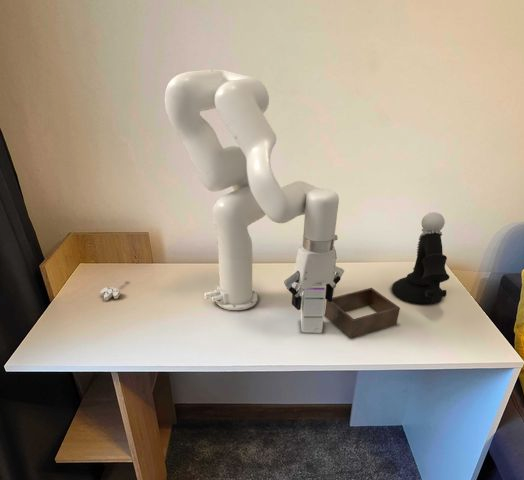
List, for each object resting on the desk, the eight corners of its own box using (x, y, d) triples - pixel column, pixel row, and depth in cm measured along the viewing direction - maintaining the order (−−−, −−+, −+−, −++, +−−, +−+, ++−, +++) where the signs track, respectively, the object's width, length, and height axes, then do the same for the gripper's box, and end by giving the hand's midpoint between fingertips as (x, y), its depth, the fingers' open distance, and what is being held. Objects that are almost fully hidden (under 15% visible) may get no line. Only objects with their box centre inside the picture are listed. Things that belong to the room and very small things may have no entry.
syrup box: (322, 333, 122) (327, 285, 114) (300, 332, 122) (304, 284, 114) (320, 321, 127) (325, 275, 118) (299, 321, 127) (303, 274, 118)
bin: (350, 338, 121) (353, 321, 117) (324, 315, 130) (326, 298, 126) (396, 324, 126) (400, 307, 123) (368, 303, 135) (371, 287, 132)
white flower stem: (98, 300, 134) (96, 293, 133) (109, 282, 144) (107, 275, 142) (117, 301, 134) (115, 293, 133) (127, 283, 144) (126, 275, 142)
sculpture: (433, 281, 147) (454, 205, 132) (459, 321, 128) (486, 237, 113) (386, 281, 147) (402, 204, 132) (405, 320, 128) (426, 236, 113)
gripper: (339, 231, 116) (331, 290, 126) (279, 242, 110) (276, 304, 120) (356, 242, 111) (347, 303, 121) (294, 255, 104) (290, 317, 115)
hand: (312, 303), depth 121 cm, fingers open, 9 cm apart
